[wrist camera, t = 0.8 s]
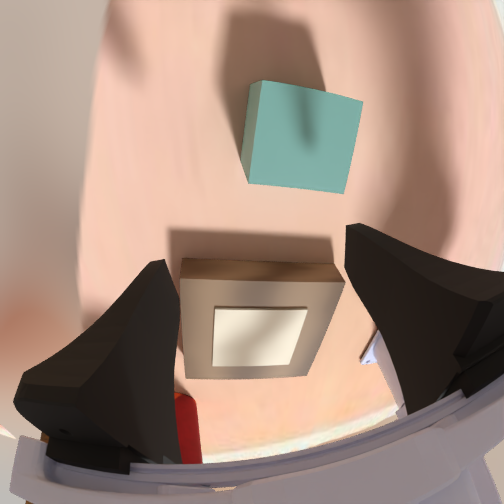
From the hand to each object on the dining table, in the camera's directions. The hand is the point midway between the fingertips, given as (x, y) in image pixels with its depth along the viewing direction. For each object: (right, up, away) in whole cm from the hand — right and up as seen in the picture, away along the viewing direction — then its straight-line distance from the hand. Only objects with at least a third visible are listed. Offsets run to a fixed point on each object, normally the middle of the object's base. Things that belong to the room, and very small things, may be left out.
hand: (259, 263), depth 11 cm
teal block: (+2, +8, +6) cm, 10 cm away
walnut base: (0, -5, +14) cm, 15 cm away
